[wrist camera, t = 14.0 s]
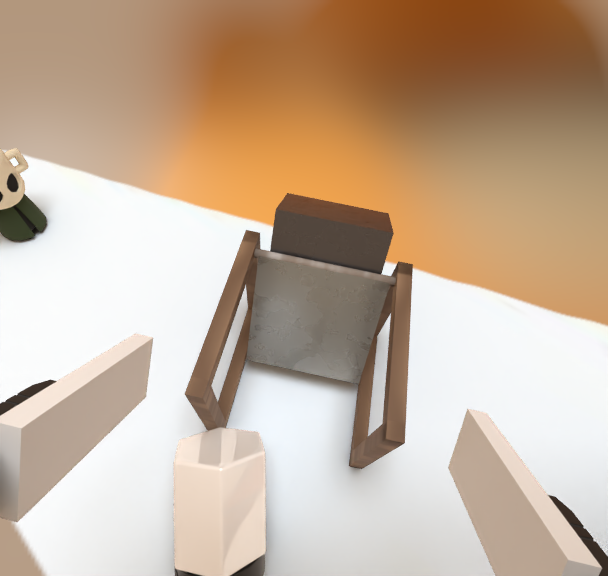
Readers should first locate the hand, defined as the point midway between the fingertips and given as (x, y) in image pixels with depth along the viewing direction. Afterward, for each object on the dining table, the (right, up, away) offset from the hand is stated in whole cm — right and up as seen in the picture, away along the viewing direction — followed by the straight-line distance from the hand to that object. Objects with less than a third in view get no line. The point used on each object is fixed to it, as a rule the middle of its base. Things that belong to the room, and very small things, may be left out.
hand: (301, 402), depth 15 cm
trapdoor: (+2, +6, +33) cm, 34 cm away
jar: (-8, -10, +19) cm, 23 cm away
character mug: (-43, +14, +42) cm, 62 cm away
